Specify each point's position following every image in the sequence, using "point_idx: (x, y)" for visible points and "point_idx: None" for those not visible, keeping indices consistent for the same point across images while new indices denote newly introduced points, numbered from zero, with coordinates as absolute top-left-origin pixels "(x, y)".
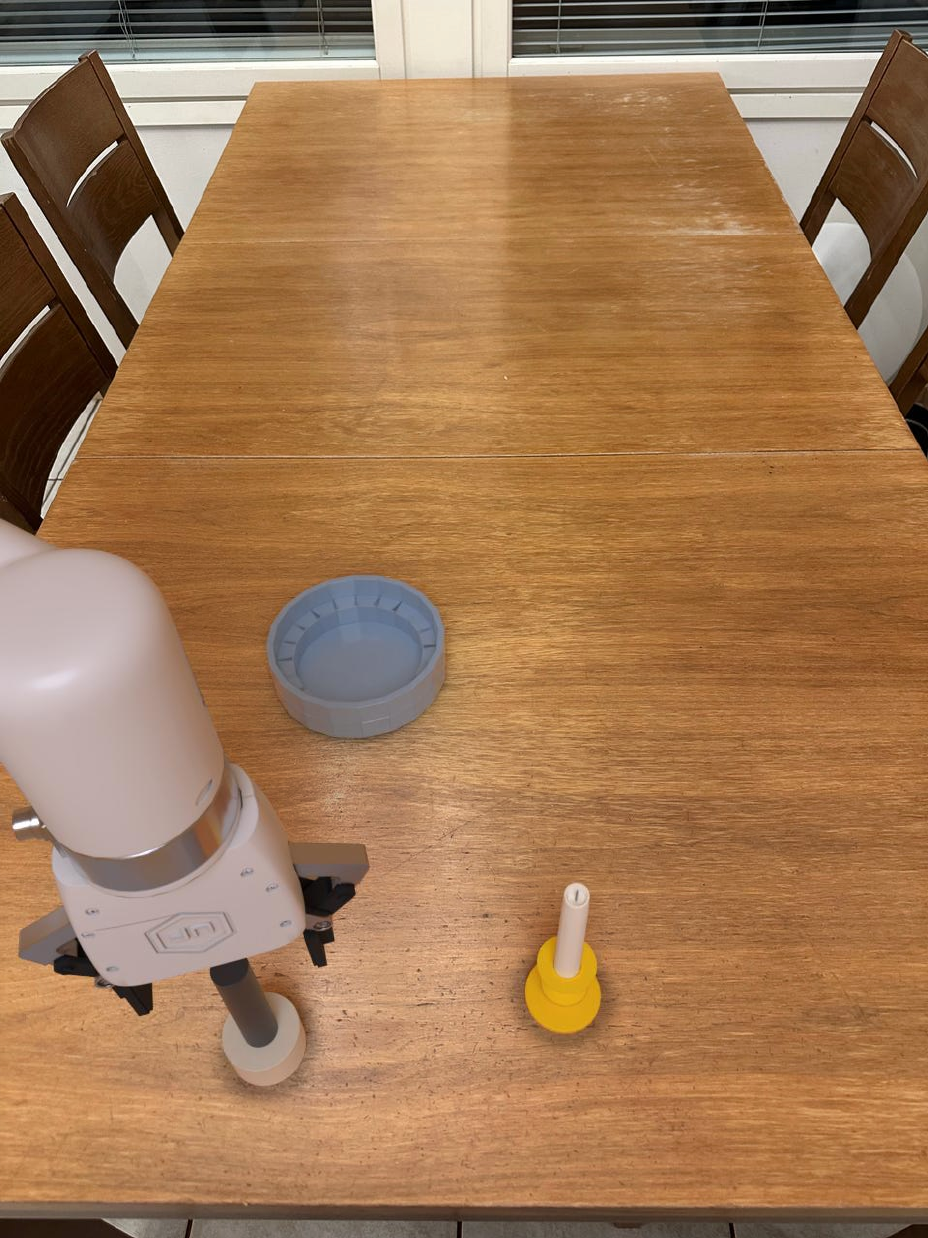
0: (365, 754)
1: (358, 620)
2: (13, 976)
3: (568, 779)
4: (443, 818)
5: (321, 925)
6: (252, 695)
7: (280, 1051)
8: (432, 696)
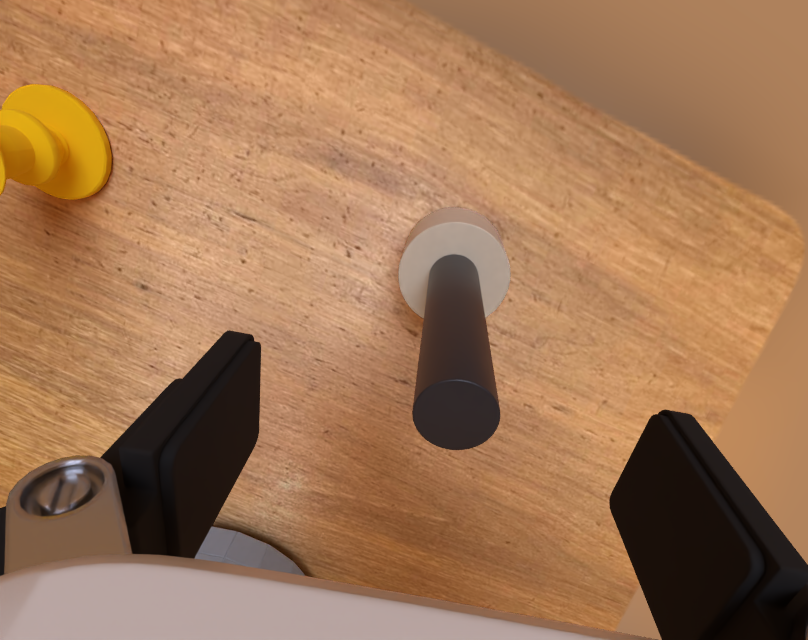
0: (244, 511)
1: None
2: None
3: (12, 392)
4: None
5: (75, 484)
6: None
7: (437, 238)
8: None
